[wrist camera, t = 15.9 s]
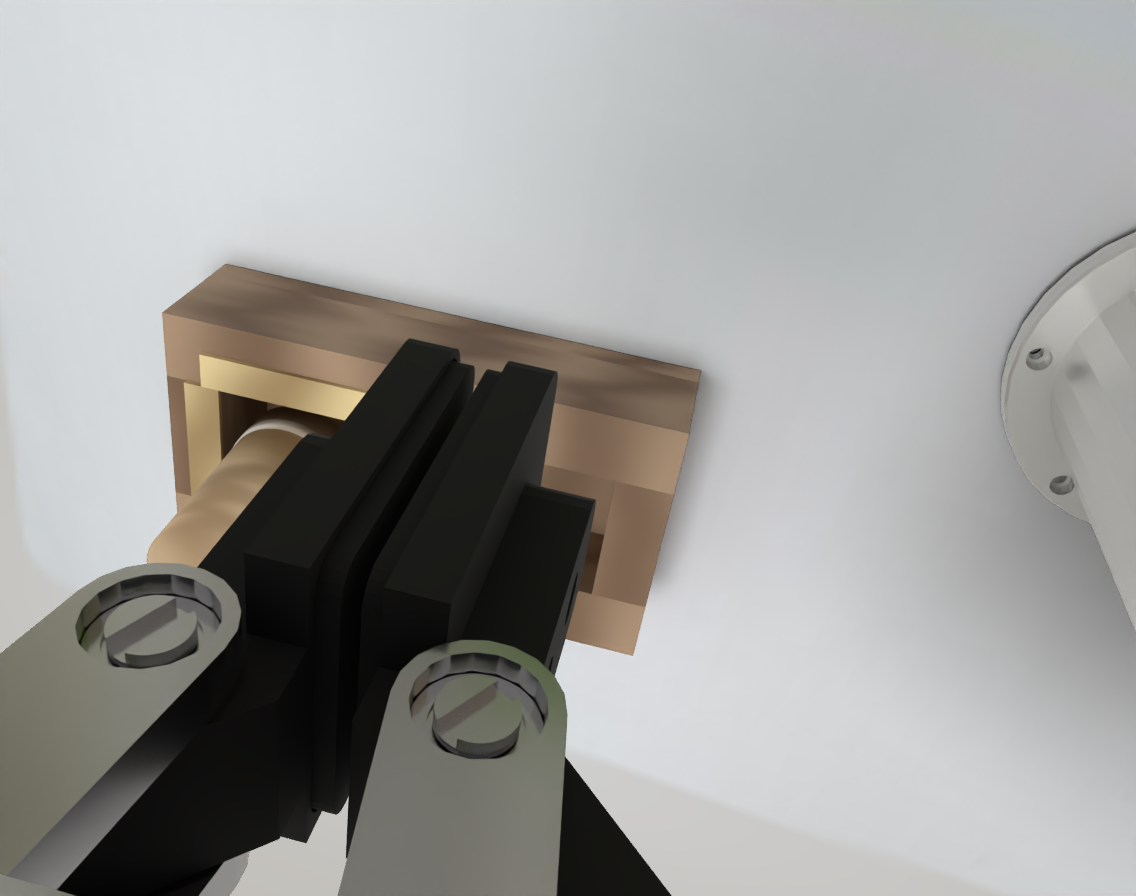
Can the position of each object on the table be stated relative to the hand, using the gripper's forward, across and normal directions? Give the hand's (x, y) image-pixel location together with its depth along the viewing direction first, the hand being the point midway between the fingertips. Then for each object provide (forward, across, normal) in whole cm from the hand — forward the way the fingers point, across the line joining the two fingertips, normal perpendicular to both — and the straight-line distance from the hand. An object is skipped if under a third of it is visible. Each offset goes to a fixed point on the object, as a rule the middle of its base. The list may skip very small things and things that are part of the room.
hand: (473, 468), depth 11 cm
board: (+27, +7, +17) cm, 33 cm away
